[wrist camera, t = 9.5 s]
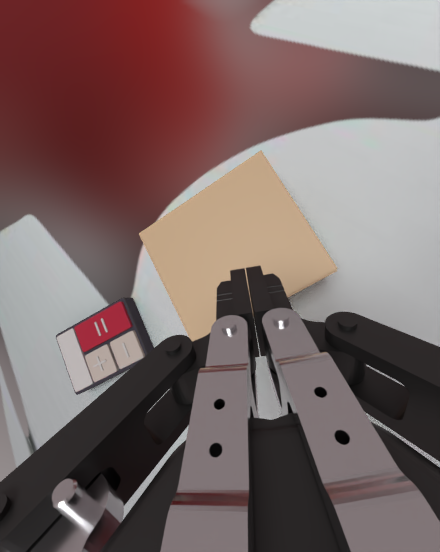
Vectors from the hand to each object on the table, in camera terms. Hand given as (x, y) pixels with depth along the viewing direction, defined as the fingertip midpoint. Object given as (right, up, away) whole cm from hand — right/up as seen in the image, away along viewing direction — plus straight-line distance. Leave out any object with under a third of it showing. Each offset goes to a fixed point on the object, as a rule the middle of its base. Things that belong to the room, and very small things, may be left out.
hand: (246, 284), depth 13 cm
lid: (0, +3, +18) cm, 18 cm away
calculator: (-21, -12, +33) cm, 41 cm away
